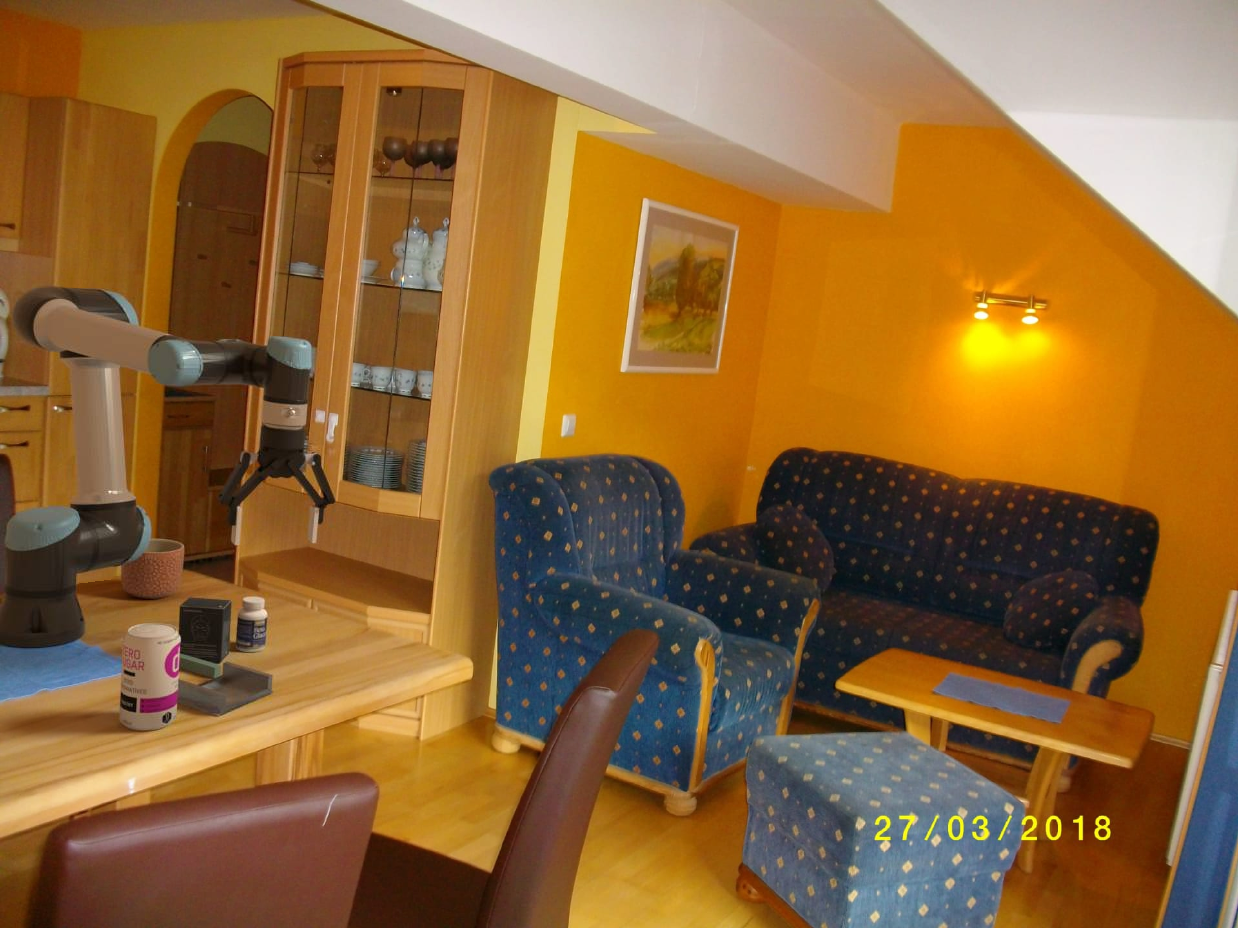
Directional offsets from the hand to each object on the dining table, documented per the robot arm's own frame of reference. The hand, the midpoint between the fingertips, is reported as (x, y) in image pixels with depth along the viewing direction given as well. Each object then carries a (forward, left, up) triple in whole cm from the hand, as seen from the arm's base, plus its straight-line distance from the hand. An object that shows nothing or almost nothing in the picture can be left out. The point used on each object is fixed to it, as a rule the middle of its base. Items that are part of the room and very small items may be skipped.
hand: (274, 542), depth 187 cm
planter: (-48, +19, -24) cm, 57 cm away
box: (-13, -2, -24) cm, 27 cm away
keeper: (+3, -14, -24) cm, 28 cm away
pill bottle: (-10, +7, -24) cm, 27 cm away
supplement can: (+2, -29, -24) cm, 37 cm away
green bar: (-11, -8, -24) cm, 27 cm away
